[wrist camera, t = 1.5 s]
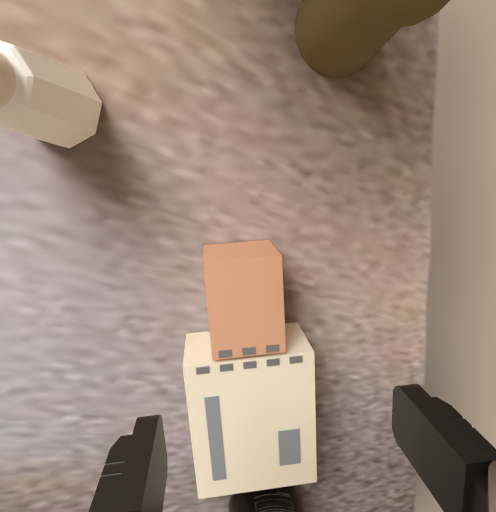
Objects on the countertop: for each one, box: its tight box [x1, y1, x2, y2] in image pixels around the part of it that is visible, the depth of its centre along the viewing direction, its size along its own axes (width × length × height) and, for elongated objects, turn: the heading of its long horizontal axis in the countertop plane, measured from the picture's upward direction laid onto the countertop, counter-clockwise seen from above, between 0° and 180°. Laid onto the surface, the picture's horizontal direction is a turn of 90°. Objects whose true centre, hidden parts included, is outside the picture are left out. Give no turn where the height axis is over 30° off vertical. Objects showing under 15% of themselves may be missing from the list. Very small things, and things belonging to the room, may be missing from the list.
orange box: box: [203, 240, 286, 360], centre depth 27 cm, size 7×5×5 cm
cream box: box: [183, 322, 317, 499], centre depth 29 cm, size 11×9×5 cm
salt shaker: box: [0, 41, 102, 149], centre depth 20 cm, size 5×5×11 cm
